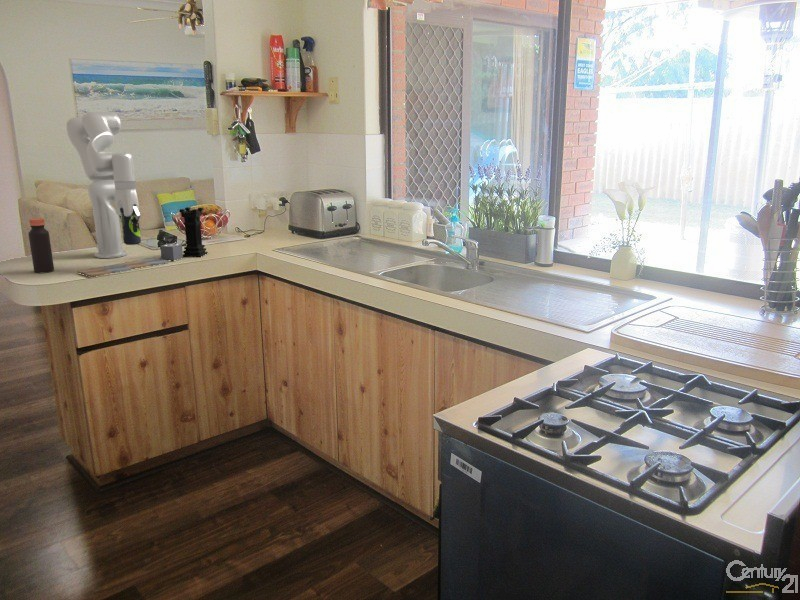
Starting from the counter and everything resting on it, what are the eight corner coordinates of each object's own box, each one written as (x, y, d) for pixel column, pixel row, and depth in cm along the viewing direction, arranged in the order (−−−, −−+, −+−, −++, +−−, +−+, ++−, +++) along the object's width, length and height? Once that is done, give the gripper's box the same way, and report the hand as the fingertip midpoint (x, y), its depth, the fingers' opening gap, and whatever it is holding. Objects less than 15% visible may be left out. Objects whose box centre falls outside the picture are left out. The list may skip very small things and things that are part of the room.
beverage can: (121, 243, 252) (116, 205, 248) (136, 241, 256) (132, 203, 252) (128, 245, 248) (123, 206, 244) (143, 243, 252) (139, 205, 248)
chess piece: (207, 253, 279) (204, 207, 274) (200, 257, 272) (196, 210, 266) (190, 253, 280) (186, 207, 275) (182, 256, 272) (178, 209, 267)
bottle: (31, 271, 246) (23, 219, 241) (50, 268, 251) (42, 217, 245) (38, 274, 242) (29, 221, 236) (57, 271, 246) (49, 219, 241)
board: (77, 273, 242) (77, 271, 242) (154, 259, 267) (154, 257, 266) (91, 277, 237) (90, 275, 236) (168, 263, 261) (168, 260, 260)
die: (161, 260, 266) (160, 245, 264) (171, 257, 271) (169, 243, 269) (174, 261, 264) (172, 246, 262) (183, 258, 269) (181, 244, 268)
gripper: (104, 185, 248) (110, 232, 253) (128, 188, 238) (133, 236, 243) (123, 184, 254) (128, 229, 259) (146, 186, 244) (151, 234, 249)
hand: (130, 232), depth 251 cm, fingers closed on beverage can, 4 cm apart
